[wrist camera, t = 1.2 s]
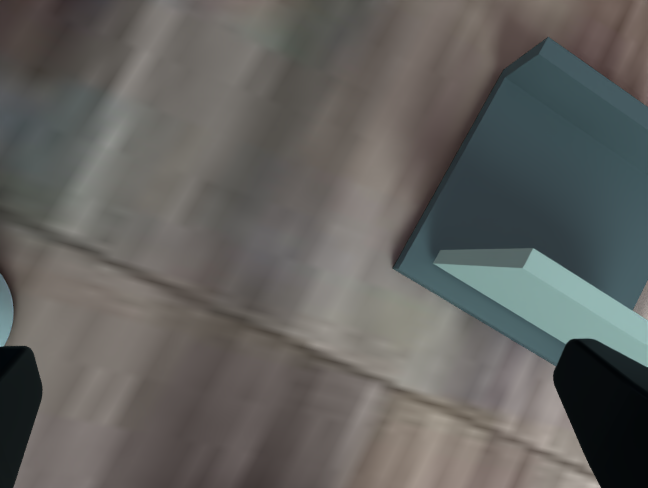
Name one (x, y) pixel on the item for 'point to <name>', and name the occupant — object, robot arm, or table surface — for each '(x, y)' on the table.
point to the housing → (543, 189)
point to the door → (549, 297)
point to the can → (5, 311)
